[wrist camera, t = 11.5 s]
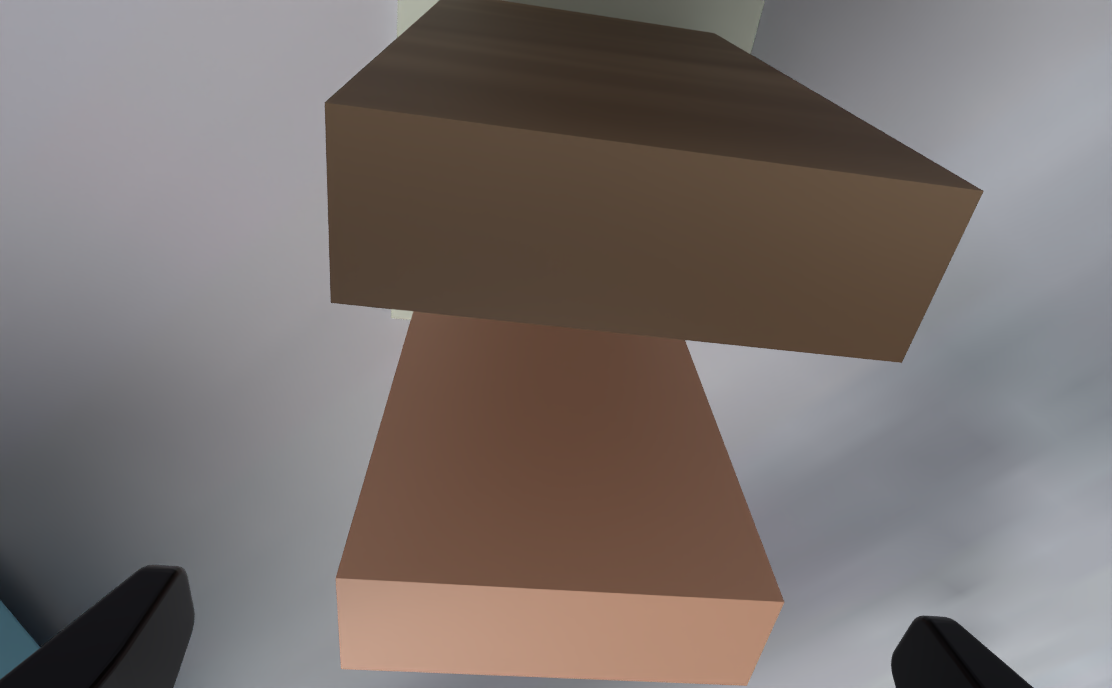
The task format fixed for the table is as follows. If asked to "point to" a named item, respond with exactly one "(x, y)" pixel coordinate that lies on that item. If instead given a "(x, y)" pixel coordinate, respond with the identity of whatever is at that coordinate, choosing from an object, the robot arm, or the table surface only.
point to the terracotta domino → (552, 515)
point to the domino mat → (691, 3)
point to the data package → (13, 642)
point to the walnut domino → (627, 188)
